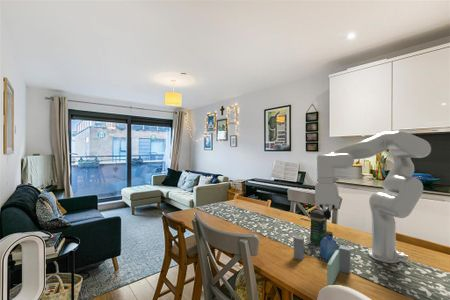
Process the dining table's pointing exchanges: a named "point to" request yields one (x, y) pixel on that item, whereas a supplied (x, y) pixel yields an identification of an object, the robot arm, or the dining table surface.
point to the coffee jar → (317, 226)
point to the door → (333, 268)
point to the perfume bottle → (328, 246)
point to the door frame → (343, 254)
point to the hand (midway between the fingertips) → (327, 218)
